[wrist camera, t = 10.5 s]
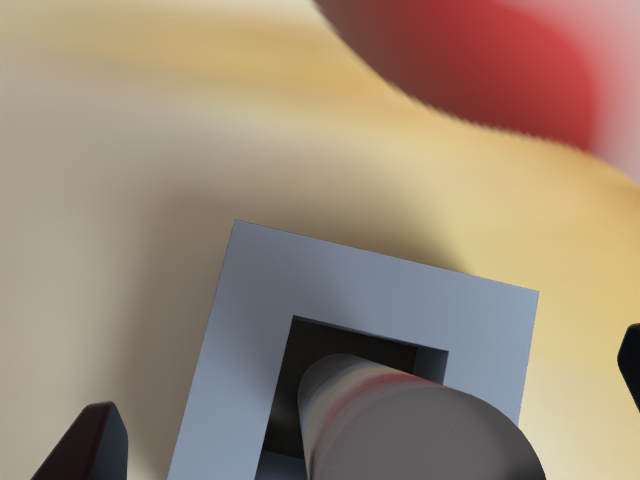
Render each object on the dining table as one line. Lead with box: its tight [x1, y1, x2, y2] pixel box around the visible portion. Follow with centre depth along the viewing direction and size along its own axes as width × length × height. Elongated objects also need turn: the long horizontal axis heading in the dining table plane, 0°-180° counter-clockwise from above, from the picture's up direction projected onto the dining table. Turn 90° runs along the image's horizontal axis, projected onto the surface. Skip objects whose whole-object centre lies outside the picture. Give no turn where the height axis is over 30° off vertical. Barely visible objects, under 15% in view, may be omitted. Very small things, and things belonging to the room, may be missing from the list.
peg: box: [297, 353, 546, 480], centre depth 13 cm, size 3×3×12 cm
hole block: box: [167, 220, 539, 480], centre depth 17 cm, size 9×9×4 cm
